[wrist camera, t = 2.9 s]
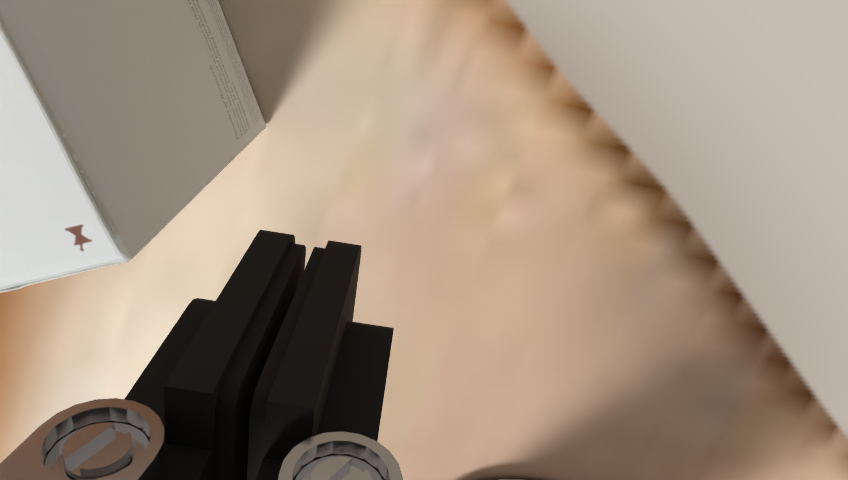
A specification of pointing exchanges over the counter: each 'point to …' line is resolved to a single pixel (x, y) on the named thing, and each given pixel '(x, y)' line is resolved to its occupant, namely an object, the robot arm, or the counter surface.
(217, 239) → the counter surface
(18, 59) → the supplement box
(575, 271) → the counter surface
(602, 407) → the counter surface
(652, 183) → the counter surface
